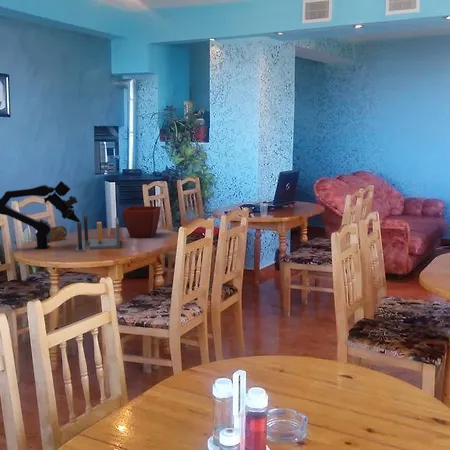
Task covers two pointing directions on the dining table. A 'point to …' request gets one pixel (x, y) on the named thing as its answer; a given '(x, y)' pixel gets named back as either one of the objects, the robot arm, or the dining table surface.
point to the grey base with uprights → (107, 240)
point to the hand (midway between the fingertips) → (79, 221)
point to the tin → (57, 233)
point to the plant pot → (142, 220)
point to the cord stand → (81, 242)
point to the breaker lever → (99, 231)
